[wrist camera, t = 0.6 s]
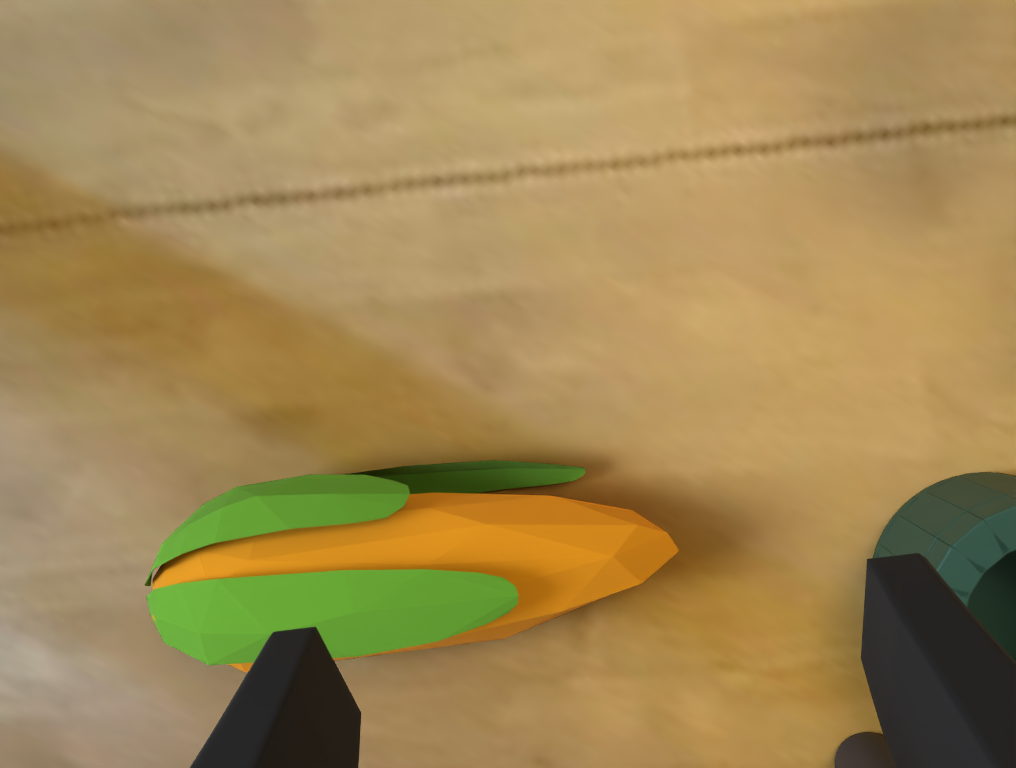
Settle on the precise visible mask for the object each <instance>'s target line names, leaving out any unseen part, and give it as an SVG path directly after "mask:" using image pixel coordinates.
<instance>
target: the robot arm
mask: <svg viewBox="0 0 1016 768" xmlns="http://www.w3.org/2000/svg"><path fill="white" fill-rule="evenodd" d="M861 660H862V664H863V667H864V670H865V674H866V677H867V681H868V684H869V688H870V691H871V695H872V698H873V702H874V705H875V708H876V712H877V715H878V718H879V722H880V725H881V728H882V732H883V735H884V738H885V741H886V743H887V746H888V748H889V751H890V753H891V755H892V758H893V760H894V763H895V765H896V768H1016V661H1015V660H1014V659H1013V658H1012V657H1011V656H1010V655H1009V654H1008V653H1007V652H1006V651H1005V649H1004V648H1003V647H1002V646H1001V645H1000V644H999V643H998V642H997V641H996V639H995V638H994V637H993V636H992V635H991V634H990V633H989V632H988V630H987V629H986V628H985V627H984V626H983V625H982V624H981V623H980V622H979V620H978V619H977V618H976V617H975V616H974V615H973V613H972V612H971V611H970V610H969V609H968V608H967V607H966V605H965V604H964V603H963V602H962V601H961V600H960V598H959V597H958V596H957V595H956V594H955V592H954V591H953V590H952V589H951V588H950V586H949V585H948V584H947V583H946V582H945V580H944V579H943V578H942V577H941V576H940V574H939V573H938V572H937V571H936V569H935V568H934V567H933V566H932V564H931V563H930V562H929V561H928V559H927V558H925V557H924V556H922V555H921V554H919V553H913V554H905V555H896V556H888V557H880V558H872V559H867V571H866V587H865V603H864V619H863V635H862V651H861ZM360 725H361V712H360V710H359V708H358V706H357V704H356V702H355V700H354V698H353V696H352V694H351V692H350V691H349V689H348V687H347V685H346V683H345V681H344V679H343V677H342V675H341V673H340V672H339V670H338V668H337V666H336V664H335V662H334V660H333V658H332V656H331V654H330V652H329V651H328V649H327V647H326V645H325V643H324V641H323V639H322V637H321V635H320V633H319V631H318V630H317V628H316V627H308V628H300V629H292V630H284V631H276V632H273V633H272V634H271V635H270V637H269V638H268V640H267V641H266V643H265V645H264V646H263V648H262V650H261V651H260V653H259V655H258V656H257V658H256V660H255V661H254V663H253V665H252V667H251V668H250V670H249V672H248V673H247V675H246V677H245V678H244V680H243V682H242V683H241V685H240V687H239V689H238V690H237V692H236V694H235V695H234V697H233V699H232V700H231V702H230V704H229V705H228V707H227V709H226V710H225V712H224V714H223V715H222V717H221V719H220V720H219V722H218V724H217V725H216V727H215V728H214V730H213V732H212V733H211V735H210V737H209V738H208V740H207V741H206V743H205V745H204V746H203V748H202V749H201V751H200V753H199V754H198V756H197V757H196V759H195V760H194V762H193V764H192V765H191V767H190V768H358V762H359V745H360Z"/></svg>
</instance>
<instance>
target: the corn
mask: <svg viewBox="0 0 1016 768" xmlns="http://www.w3.org/2000/svg"><path fill="white" fill-rule="evenodd" d="M585 470H586V469H584V468H583V467H575V466H565V465H555V464H545V463H530V462H514V461H499V460H491V461H476V462H460V463H445V464H430V465H414V466H402V467H395V468H387V469H380V470H373V471H366V472H359V473H352V474H344V475H305V476H299V477H293V478H287V479H281V480H275V481H269V482H263V483H257V484H251V485H245V486H240V487H236V488H234V489H232V490H230V491H228V492H226V493H224V494H222V495H220V496H218V497H216V498H214V499H212V500H210V501H209V502H207V503H205V504H203V505H202V506H201V507H200V508H199V509H198V510H197V511H196V512H195V513H193V514H192V515H191V516H190V517H189V518H188V519H187V520H186V521H185V522H184V523H183V524H182V525H181V526H180V527H178V528H177V529H176V530H175V531H174V532H173V533H172V534H171V535H170V536H169V537H168V538H167V540H166V541H165V542H164V543H163V544H162V545H161V548H160V550H159V552H158V555H157V557H156V560H155V562H154V564H153V567H152V569H151V571H150V574H149V576H148V579H147V581H146V583H145V586H150V585H151V577H152V572H153V570H154V569H155V568H156V567H158V566H160V565H161V566H160V568H159V570H158V571H157V573H156V575H155V576H154V578H153V591H152V592H151V593H150V594H149V595H147V596H146V597H147V602H148V607H149V611H150V615H151V617H152V619H153V621H154V623H155V625H156V627H157V629H158V631H159V633H160V635H161V637H162V639H163V641H164V643H166V644H168V645H170V646H172V647H174V648H176V649H178V650H180V651H182V652H184V653H186V654H188V655H190V656H192V657H194V658H196V659H198V660H200V661H202V662H204V663H206V664H208V665H219V664H228V665H231V666H233V667H235V668H237V669H240V670H242V671H244V672H249V670H250V668H251V667H252V665H253V663H254V661H255V660H256V658H257V656H258V655H259V653H260V651H261V650H262V648H263V646H264V645H265V643H266V641H267V640H268V638H269V637H270V635H271V634H272V633H273V632H276V631H284V630H292V629H300V628H308V627H316V628H317V630H318V631H319V633H320V635H321V637H322V639H323V641H324V643H325V645H326V647H327V649H328V651H329V652H330V654H331V656H332V658H333V660H334V661H335V660H343V659H351V658H358V657H366V656H374V655H381V654H389V653H397V652H405V651H412V650H420V649H428V648H435V647H443V646H451V645H458V644H466V643H474V642H481V641H489V640H497V639H504V638H507V637H509V636H512V635H514V634H516V633H519V632H521V631H524V630H526V629H529V628H531V627H533V626H536V625H538V624H541V623H543V622H546V621H548V620H550V619H553V618H555V617H558V616H560V615H563V614H565V613H568V612H570V611H572V610H575V609H577V608H580V607H582V606H585V605H587V604H589V603H592V602H594V601H597V600H599V599H602V598H604V597H607V596H609V595H611V594H614V593H616V592H619V591H622V590H625V589H628V588H630V587H633V586H636V585H639V584H642V583H643V582H644V581H645V580H646V579H648V578H649V577H650V576H651V575H652V574H653V573H654V572H656V571H657V570H658V569H659V568H660V567H661V566H662V565H663V564H665V563H666V562H667V561H668V560H669V559H670V558H671V557H673V556H674V555H675V554H676V553H677V552H678V551H679V549H678V548H677V546H676V545H675V544H674V542H673V541H672V539H671V538H670V536H669V535H668V533H667V532H665V531H664V530H662V529H661V528H659V527H657V526H656V525H654V524H653V523H651V522H650V521H648V520H647V519H645V518H643V517H642V516H640V515H639V514H637V513H636V512H634V511H633V510H629V509H623V508H618V507H612V506H607V505H601V504H595V503H590V502H584V501H579V500H573V499H568V498H562V497H557V496H548V495H510V494H473V493H479V492H486V491H494V490H501V489H510V488H520V487H531V486H541V485H551V484H558V483H564V482H570V481H575V480H576V479H578V478H580V477H581V476H583V475H584V474H585Z"/></svg>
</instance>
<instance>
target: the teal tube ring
mask: <svg viewBox="0 0 1016 768" xmlns="http://www.w3.org/2000/svg"><path fill="white" fill-rule="evenodd" d="M913 553H919V554H921V555H922V556H924V557H925V558H927V559H928V561H929V562H930V563H931V564H932V566H933V567H934V568H935V569H936V571H937V572H938V573H939V574H940V576H941V577H942V578H943V579H944V580H945V582H946V583H947V584H948V585H949V586H950V588H951V589H952V590H953V591H954V592H955V594H956V595H957V596H958V597H959V598H960V600H961V601H962V602H963V603H964V604H965V605H966V607H967V608H968V609H969V610H970V611H971V612H972V613H973V615H974V616H975V617H976V618H977V619H978V620H979V622H980V623H981V624H982V625H983V626H984V627H985V628H986V629H987V630H988V632H989V633H990V634H991V635H992V636H993V637H994V638H995V639H996V641H997V642H998V643H999V644H1000V645H1001V646H1002V647H1003V648H1004V649H1005V651H1006V652H1007V653H1008V654H1009V655H1010V656H1011V657H1012V658H1013V659H1014V660H1015V661H1016V476H1014V475H1008V474H1002V473H988V472H981V473H970V474H964V475H959V476H955V477H951V478H948V479H946V480H943V481H940V482H938V483H936V484H934V485H932V486H930V487H928V488H926V489H924V490H923V491H921V492H920V493H918V494H917V495H915V496H914V497H912V498H911V499H910V500H909V501H908V502H907V503H905V504H904V505H903V506H902V507H901V508H900V509H899V511H898V512H897V513H896V514H895V515H894V516H893V517H892V519H891V520H890V522H889V523H888V525H887V526H886V528H885V529H884V531H883V533H882V535H881V537H880V539H879V541H878V544H877V547H876V550H875V553H874V556H873V558H880V557H888V556H896V555H905V554H913Z"/></svg>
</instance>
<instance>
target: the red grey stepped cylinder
mask: <svg viewBox="0 0 1016 768" xmlns="http://www.w3.org/2000/svg"><path fill="white" fill-rule="evenodd" d="M835 768H896V765H895V763H894V760H893V758H892V755H891V753H890V751H889V748H888V746H887V743H886V741H885V738H884V736H882V735H879V734H876V733H868V732H865V733H858V734H855V735H853V736H851V737H849V738H848V739H846V740H845V741H844V742H843V743H842V744H841V745H840V747H839V749H838V751H837V753H836V756H835Z"/></svg>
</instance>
